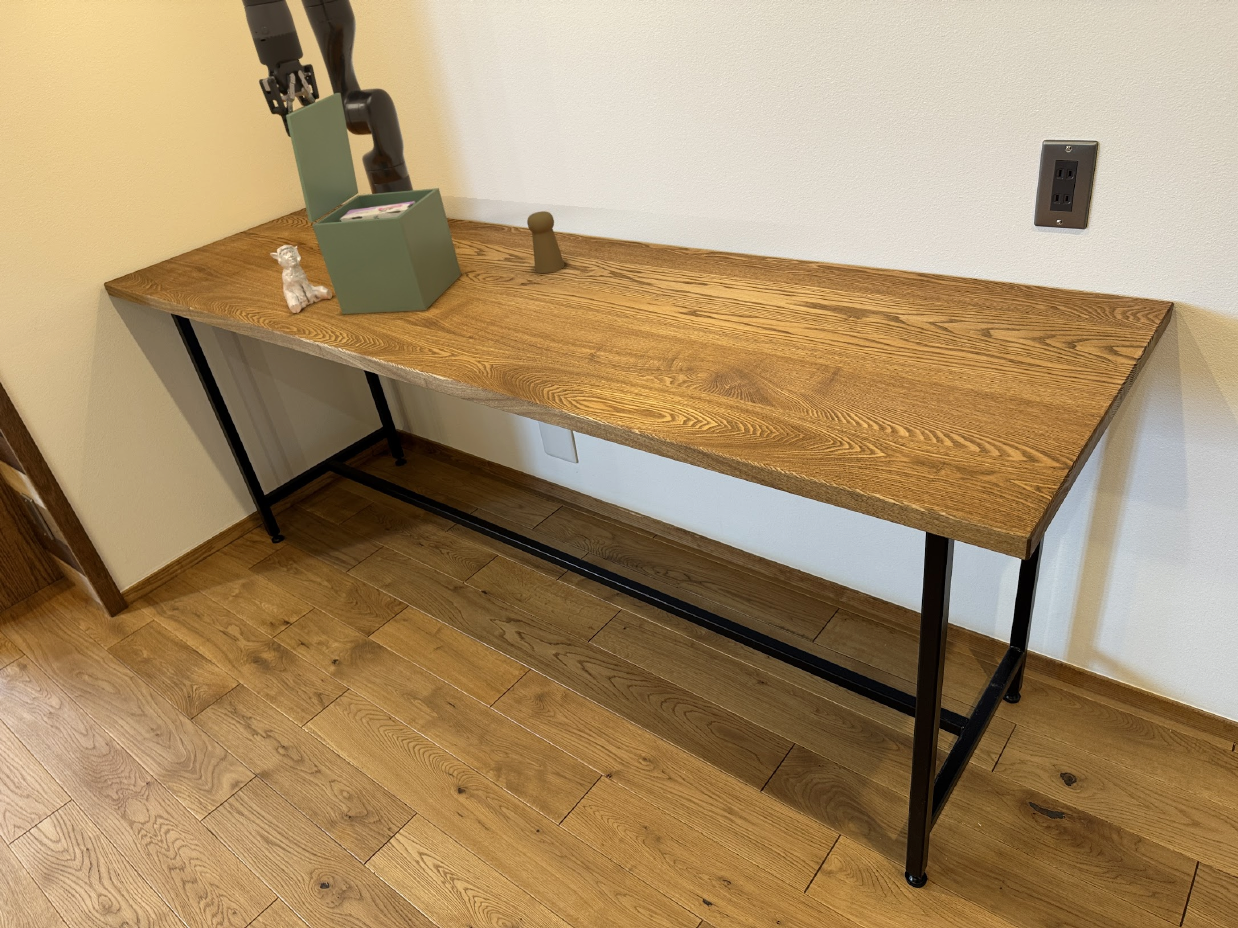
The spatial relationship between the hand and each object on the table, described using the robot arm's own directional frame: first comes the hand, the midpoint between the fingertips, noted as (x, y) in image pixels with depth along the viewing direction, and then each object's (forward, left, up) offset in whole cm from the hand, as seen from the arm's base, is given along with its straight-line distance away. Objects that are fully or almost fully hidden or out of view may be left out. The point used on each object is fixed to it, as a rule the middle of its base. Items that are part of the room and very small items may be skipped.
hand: (304, 131), depth 164 cm
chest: (0, +10, -32) cm, 34 cm away
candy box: (0, +10, -32) cm, 33 cm away
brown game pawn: (-10, +38, -33) cm, 51 cm away
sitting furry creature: (+2, -12, -33) cm, 35 cm away
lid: (0, +3, -5) cm, 6 cm away
